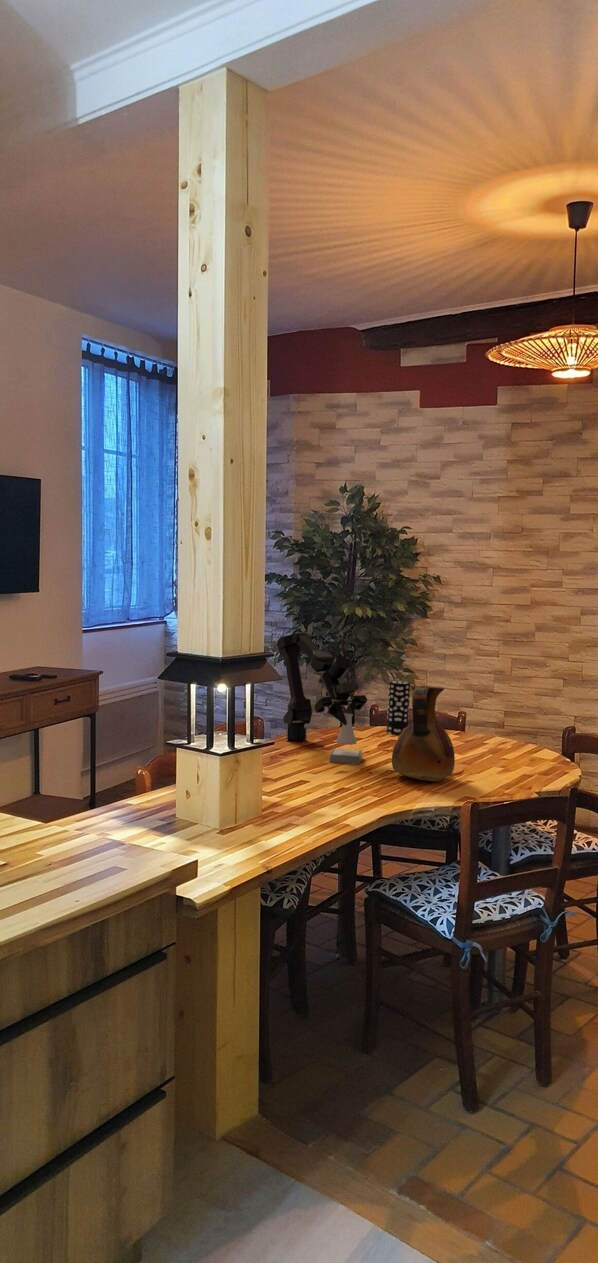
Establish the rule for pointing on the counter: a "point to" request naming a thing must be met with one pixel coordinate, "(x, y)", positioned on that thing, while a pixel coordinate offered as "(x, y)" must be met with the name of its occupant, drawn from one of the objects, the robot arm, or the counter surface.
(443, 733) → the ceramic pitcher
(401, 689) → the white-spotted black cylinder
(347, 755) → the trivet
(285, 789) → the counter surface
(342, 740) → the flask
